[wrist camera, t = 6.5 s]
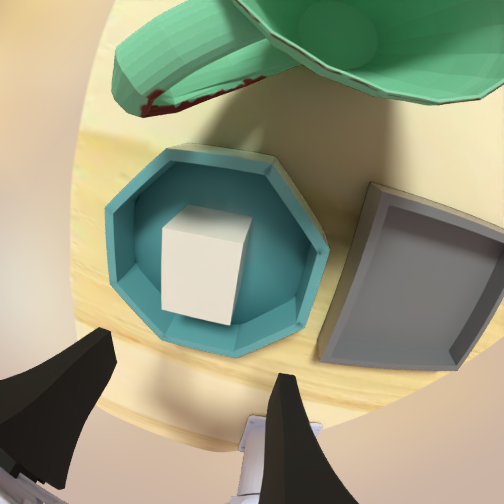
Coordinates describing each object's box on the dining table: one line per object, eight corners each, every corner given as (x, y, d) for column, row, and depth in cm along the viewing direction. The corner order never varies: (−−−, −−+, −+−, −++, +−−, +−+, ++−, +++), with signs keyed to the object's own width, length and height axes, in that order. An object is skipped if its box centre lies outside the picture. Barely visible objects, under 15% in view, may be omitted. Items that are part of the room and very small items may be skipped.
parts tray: (447, 352, 21) (457, 370, 19) (317, 338, 21) (319, 361, 19) (509, 231, 15) (527, 244, 13) (369, 181, 16) (382, 191, 14)
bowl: (290, 336, 21) (289, 367, 18) (134, 301, 22) (115, 326, 19) (337, 169, 16) (349, 180, 13) (134, 138, 16) (106, 143, 13)
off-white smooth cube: (240, 287, 19) (229, 325, 16) (182, 275, 19) (161, 309, 16) (252, 216, 17) (243, 243, 13) (187, 204, 17) (162, 227, 14)
